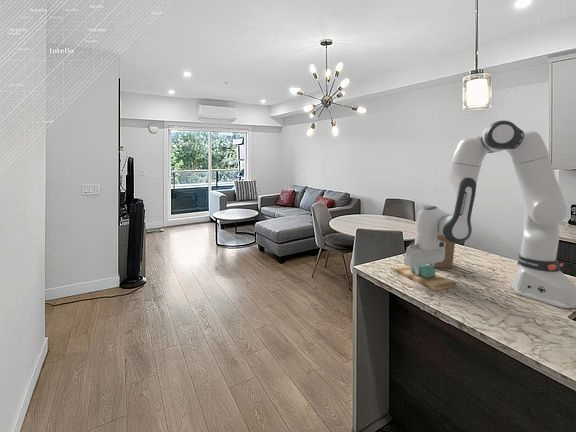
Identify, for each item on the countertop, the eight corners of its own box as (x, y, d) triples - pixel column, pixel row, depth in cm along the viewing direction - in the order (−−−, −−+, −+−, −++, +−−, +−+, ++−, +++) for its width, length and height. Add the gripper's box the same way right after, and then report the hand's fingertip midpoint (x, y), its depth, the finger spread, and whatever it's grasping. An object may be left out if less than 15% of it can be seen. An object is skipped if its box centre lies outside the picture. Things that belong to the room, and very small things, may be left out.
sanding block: (435, 277, 136) (435, 268, 135) (426, 278, 134) (427, 269, 134) (419, 270, 144) (420, 262, 144) (411, 271, 143) (411, 263, 142)
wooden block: (452, 268, 151) (456, 228, 148) (430, 267, 153) (433, 227, 150) (446, 262, 161) (450, 224, 157) (425, 260, 163) (429, 223, 159)
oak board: (456, 286, 130) (456, 282, 130) (434, 290, 126) (435, 287, 125) (411, 267, 153) (412, 264, 153) (392, 270, 149) (392, 267, 148)
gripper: (412, 247, 130) (410, 279, 132) (448, 242, 137) (446, 272, 140) (401, 243, 136) (399, 274, 138) (437, 239, 143) (434, 268, 145)
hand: (423, 273), depth 139 cm, fingers closed on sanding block, 5 cm apart
